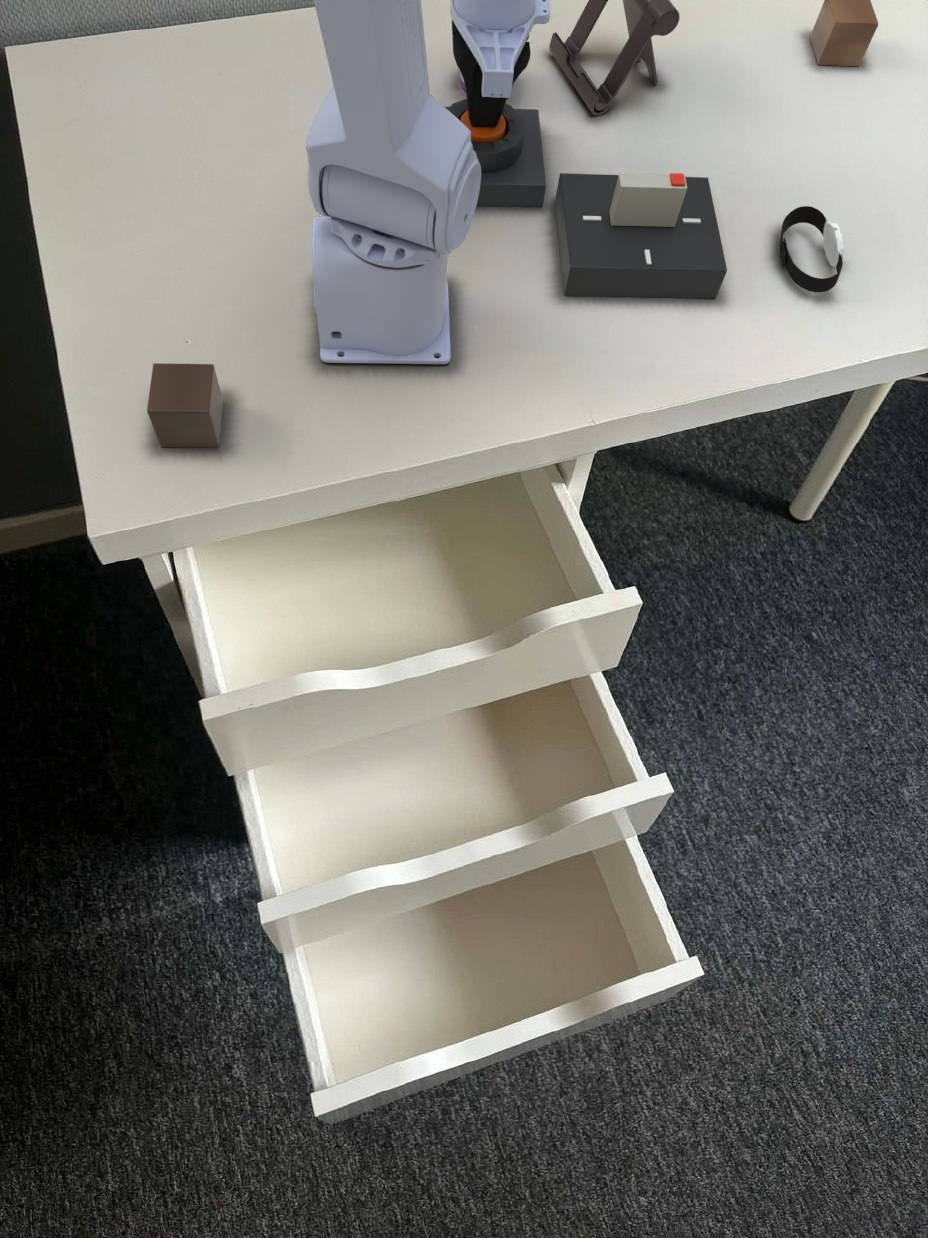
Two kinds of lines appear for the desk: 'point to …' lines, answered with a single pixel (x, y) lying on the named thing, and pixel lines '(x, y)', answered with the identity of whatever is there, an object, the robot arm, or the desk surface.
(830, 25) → the cork block
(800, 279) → the watch
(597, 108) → the tablet stand
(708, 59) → the desk surface
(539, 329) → the desk surface
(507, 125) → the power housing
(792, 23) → the desk surface
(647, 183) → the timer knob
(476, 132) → the power button
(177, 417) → the walnut block
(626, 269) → the panel
